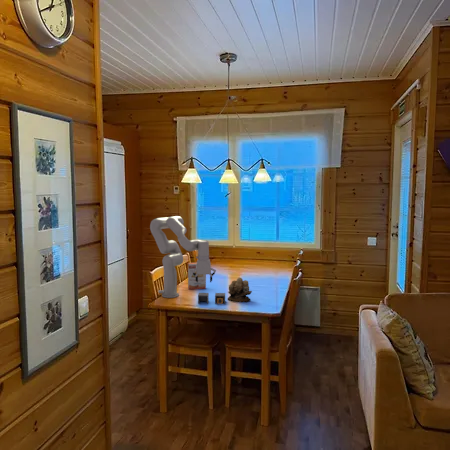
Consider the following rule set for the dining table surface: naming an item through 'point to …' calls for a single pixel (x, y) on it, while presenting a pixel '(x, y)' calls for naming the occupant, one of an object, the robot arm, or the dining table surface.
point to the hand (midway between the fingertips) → (203, 281)
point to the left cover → (203, 297)
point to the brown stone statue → (239, 291)
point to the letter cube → (219, 300)
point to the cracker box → (192, 279)
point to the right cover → (219, 296)
